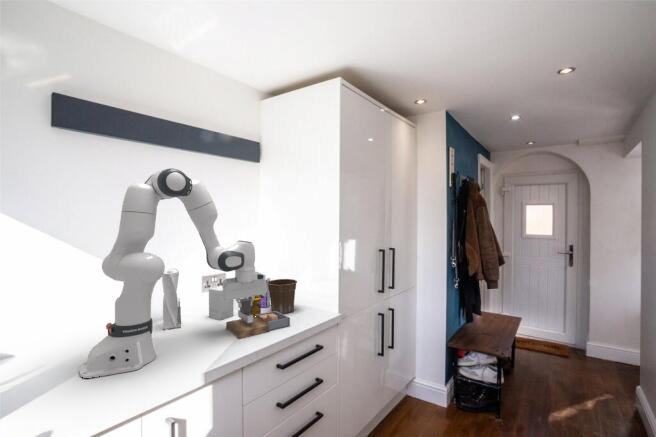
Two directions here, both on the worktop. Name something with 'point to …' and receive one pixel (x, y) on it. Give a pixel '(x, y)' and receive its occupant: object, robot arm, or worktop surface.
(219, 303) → the supplement box
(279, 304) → the plant pot
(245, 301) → the scraper
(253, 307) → the condiment
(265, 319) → the tile
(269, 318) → the tile
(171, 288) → the skyscraper
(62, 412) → the worktop surface
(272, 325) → the tray
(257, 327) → the board
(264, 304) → the candy box
